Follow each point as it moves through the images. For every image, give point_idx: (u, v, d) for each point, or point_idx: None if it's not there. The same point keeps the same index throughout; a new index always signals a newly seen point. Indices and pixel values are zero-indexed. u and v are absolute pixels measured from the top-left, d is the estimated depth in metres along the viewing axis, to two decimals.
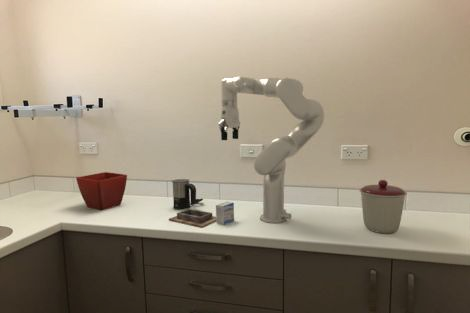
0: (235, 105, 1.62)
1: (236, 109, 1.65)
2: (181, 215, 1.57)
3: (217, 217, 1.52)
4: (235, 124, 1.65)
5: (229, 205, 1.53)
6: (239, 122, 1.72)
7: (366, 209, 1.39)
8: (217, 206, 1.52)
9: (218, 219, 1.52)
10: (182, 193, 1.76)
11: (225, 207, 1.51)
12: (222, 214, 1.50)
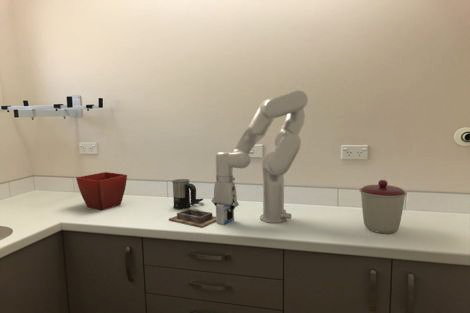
0: None
1: None
2: (181, 215, 1.57)
3: (217, 217, 1.52)
4: None
5: None
6: None
7: (366, 209, 1.39)
8: (217, 206, 1.52)
9: (218, 219, 1.52)
10: (182, 193, 1.76)
11: (225, 207, 1.51)
12: (222, 214, 1.50)
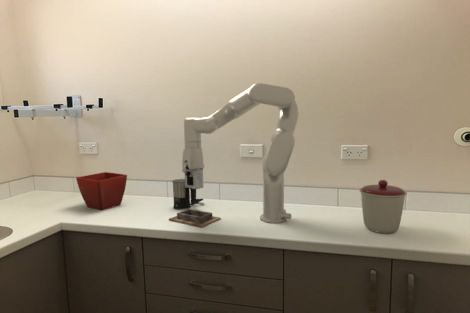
0: None
1: None
2: (181, 215, 1.57)
3: (198, 182, 1.53)
4: None
5: None
6: None
7: (366, 209, 1.39)
8: (198, 171, 1.52)
9: (199, 184, 1.53)
10: (182, 193, 1.76)
11: None
12: (202, 177, 1.55)
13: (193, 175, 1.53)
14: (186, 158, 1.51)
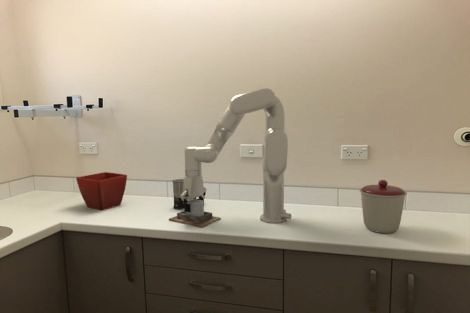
0: None
1: None
2: (181, 215, 1.57)
3: (199, 214, 1.55)
4: None
5: None
6: None
7: (366, 209, 1.39)
8: (199, 203, 1.54)
9: (200, 215, 1.55)
10: None
11: None
12: (203, 208, 1.57)
13: (194, 207, 1.55)
14: (186, 187, 1.52)
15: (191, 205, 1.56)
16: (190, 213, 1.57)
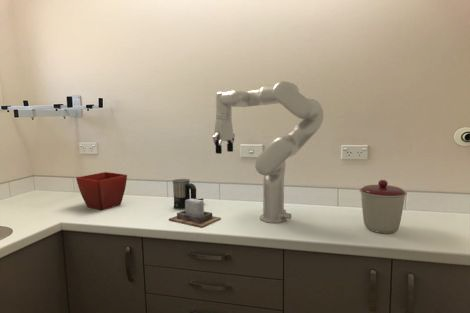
0: None
1: None
2: (181, 215, 1.57)
3: (199, 214, 1.55)
4: None
5: None
6: (213, 136, 1.60)
7: (366, 209, 1.39)
8: (199, 203, 1.54)
9: (200, 215, 1.55)
10: (182, 193, 1.76)
11: None
12: (203, 208, 1.57)
13: (194, 207, 1.55)
14: (218, 129, 1.61)
15: (191, 205, 1.56)
16: (190, 213, 1.57)
